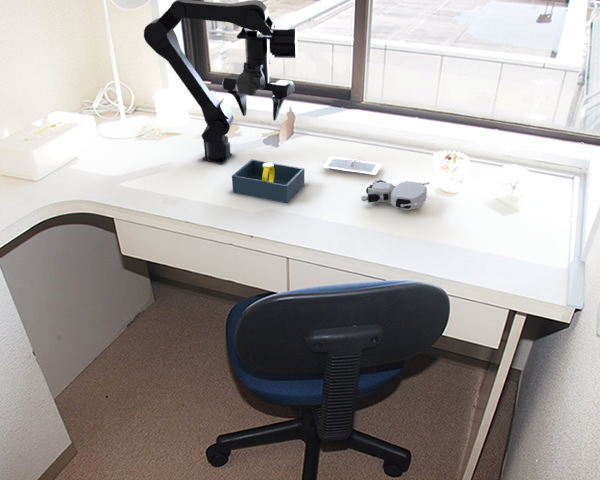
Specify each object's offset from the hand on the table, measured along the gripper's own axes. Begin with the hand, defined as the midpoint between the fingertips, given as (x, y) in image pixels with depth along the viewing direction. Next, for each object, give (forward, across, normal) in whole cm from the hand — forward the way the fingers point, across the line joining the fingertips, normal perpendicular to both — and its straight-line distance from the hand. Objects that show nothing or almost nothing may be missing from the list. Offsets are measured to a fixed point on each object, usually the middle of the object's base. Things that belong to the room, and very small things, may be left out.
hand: (259, 117), depth 151 cm
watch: (+12, +10, -16) cm, 22 cm away
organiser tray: (+12, +10, -16) cm, 22 cm away
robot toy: (+12, +42, -11) cm, 45 cm away
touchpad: (+12, +26, +4) cm, 29 cm away
